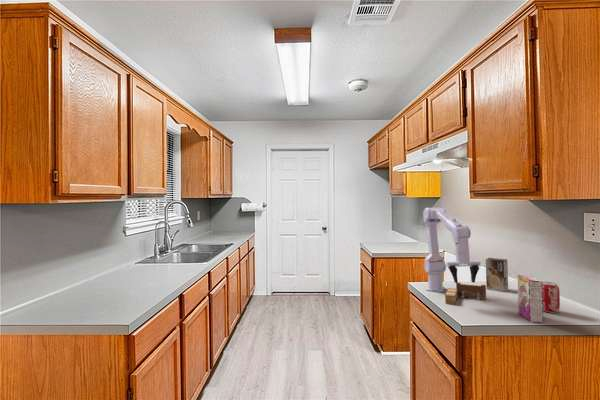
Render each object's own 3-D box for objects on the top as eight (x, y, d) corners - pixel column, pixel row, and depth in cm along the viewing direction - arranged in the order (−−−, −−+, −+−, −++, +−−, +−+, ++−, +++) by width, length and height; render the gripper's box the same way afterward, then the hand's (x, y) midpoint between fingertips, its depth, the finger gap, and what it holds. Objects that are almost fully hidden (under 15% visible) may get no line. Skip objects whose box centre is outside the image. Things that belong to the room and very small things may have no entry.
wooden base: (456, 295, 174) (456, 282, 174) (486, 298, 168) (485, 285, 168) (455, 297, 170) (455, 284, 170) (485, 301, 164) (485, 287, 164)
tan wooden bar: (448, 295, 174) (448, 287, 174) (457, 296, 172) (457, 288, 172) (445, 303, 162) (445, 295, 162) (454, 304, 160) (454, 296, 160)
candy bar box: (517, 313, 146) (516, 274, 146) (530, 313, 145) (530, 274, 145) (529, 322, 135) (528, 280, 135) (543, 323, 134) (543, 280, 134)
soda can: (563, 312, 146) (562, 283, 146) (554, 315, 143) (554, 286, 143) (544, 307, 152) (544, 280, 152) (536, 310, 149) (535, 282, 149)
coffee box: (508, 289, 183) (508, 259, 183) (504, 292, 178) (504, 260, 178) (490, 286, 189) (489, 257, 189) (485, 289, 185) (485, 259, 185)
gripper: (449, 253, 157) (451, 284, 156) (482, 252, 156) (484, 283, 155) (444, 252, 164) (446, 281, 163) (475, 251, 163) (478, 281, 162)
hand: (464, 282), depth 159 cm, fingers open, 7 cm apart
